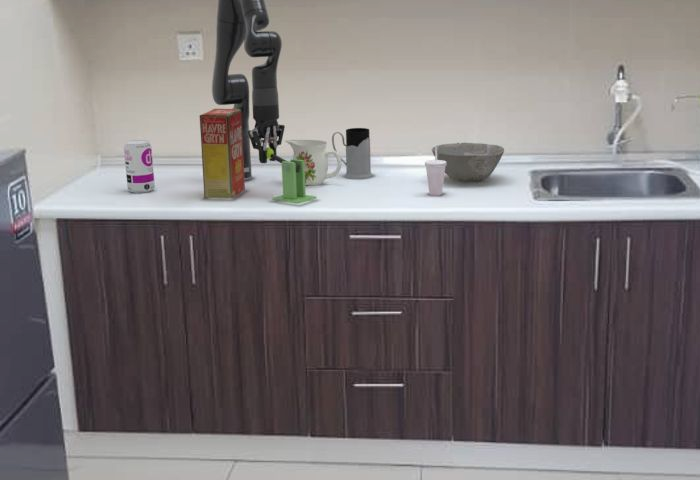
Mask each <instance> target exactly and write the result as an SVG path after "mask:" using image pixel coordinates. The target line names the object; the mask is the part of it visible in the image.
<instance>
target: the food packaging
mask: <svg viewBox="0 0 700 480" xmlns="http://www.w3.org/2000/svg"><path fill="white" fill-rule="evenodd" d="M199 129H200V130H199V131H200V143H201V144H200V145H201V163H202V180H203V182H202V183H203V199H213V198H214V199H233V198H235V197H236V196H238V195H239V194H241V192H243V191H244V190H246V181H245V178H244V160H243V140H242V121H241V109H233V108H212V109H211V110H209V111H207V112H204V113H202V114H199Z"/></svg>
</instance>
